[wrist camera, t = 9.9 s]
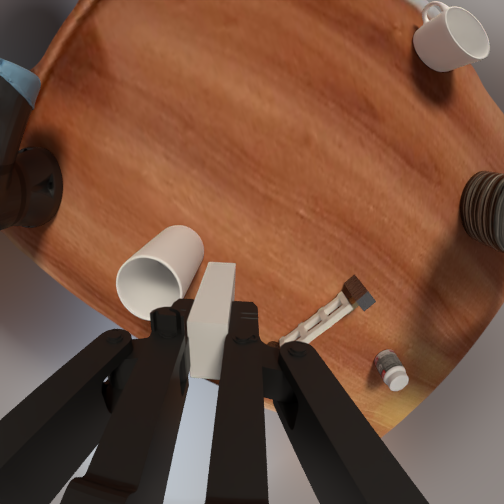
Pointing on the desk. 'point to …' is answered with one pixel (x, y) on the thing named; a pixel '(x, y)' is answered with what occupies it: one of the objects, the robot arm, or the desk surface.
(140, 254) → the cup
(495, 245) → the lamp
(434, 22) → the mug
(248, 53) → the desk surface
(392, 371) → the pill bottle
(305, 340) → the gate
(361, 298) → the grey upright block
